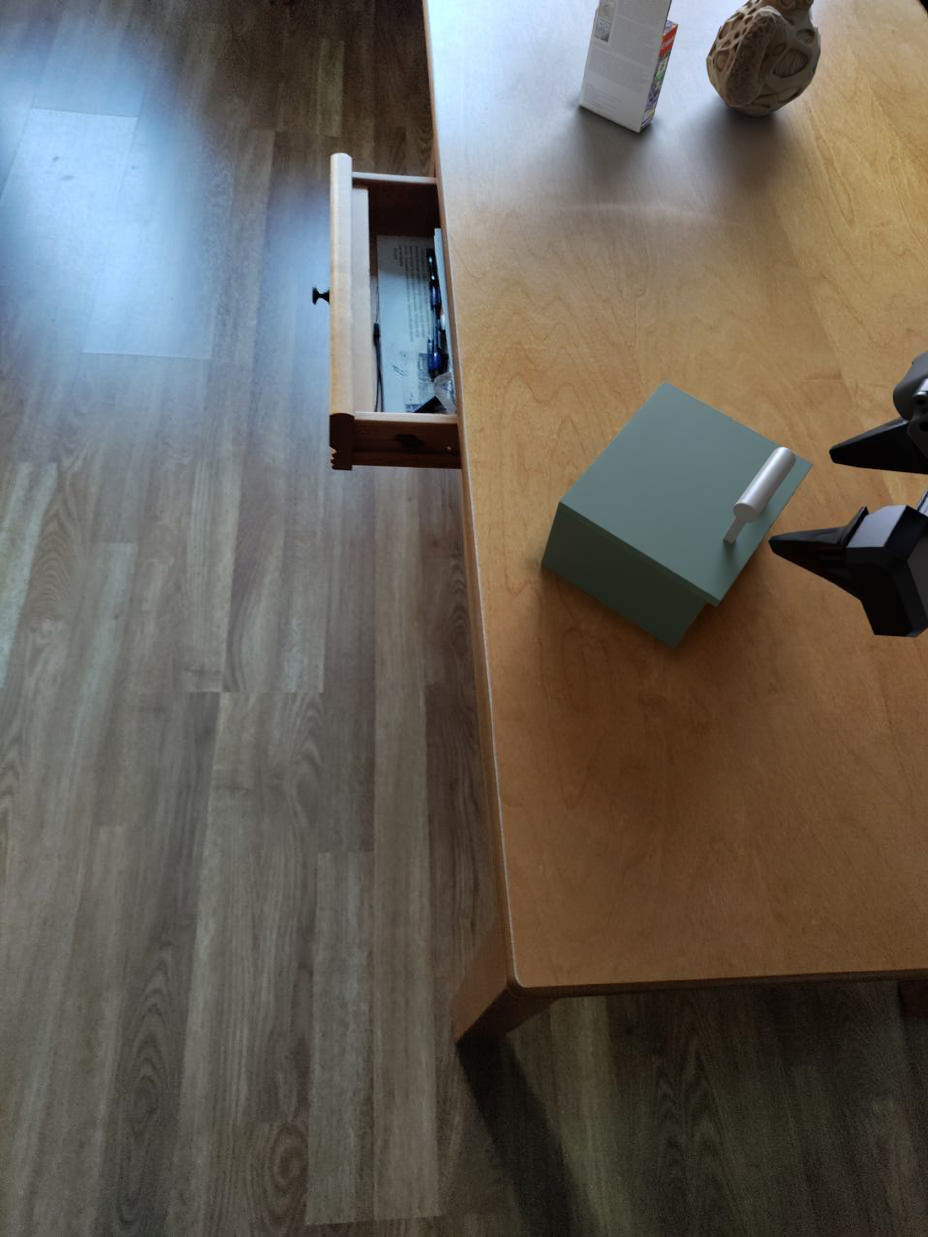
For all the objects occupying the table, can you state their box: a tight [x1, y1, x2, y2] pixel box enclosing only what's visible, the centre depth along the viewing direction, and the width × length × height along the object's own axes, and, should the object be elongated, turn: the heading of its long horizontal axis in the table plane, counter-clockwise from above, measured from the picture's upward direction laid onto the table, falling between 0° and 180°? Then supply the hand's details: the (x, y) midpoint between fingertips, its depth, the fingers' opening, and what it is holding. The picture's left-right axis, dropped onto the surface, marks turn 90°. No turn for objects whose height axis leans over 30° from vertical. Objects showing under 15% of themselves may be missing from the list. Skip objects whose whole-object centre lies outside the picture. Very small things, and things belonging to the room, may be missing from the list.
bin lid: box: [556, 380, 814, 608], centre depth 58 cm, size 12×15×5 cm
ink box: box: [577, 0, 679, 134], centre depth 88 cm, size 4×8×15 cm, turn 55°
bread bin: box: [540, 508, 708, 650], centre depth 63 cm, size 12×15×7 cm
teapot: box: [705, 0, 822, 118], centre depth 90 cm, size 21×12×15 cm, turn 154°
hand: (802, 498), depth 54 cm, fingers open, 9 cm apart
